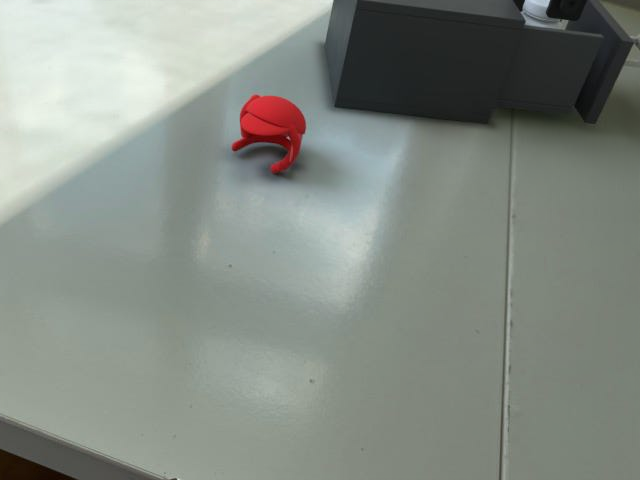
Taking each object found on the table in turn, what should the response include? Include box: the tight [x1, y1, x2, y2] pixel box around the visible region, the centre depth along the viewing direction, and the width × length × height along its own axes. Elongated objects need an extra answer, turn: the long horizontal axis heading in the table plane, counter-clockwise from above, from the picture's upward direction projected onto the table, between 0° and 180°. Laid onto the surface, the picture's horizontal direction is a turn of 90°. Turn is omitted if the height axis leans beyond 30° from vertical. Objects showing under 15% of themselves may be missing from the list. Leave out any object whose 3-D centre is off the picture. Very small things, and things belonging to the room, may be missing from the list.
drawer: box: [494, 0, 640, 125], centre depth 81 cm, size 21×13×9 cm, turn 90°
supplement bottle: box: [521, 0, 563, 30], centre depth 80 cm, size 5×5×8 cm
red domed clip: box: [231, 93, 307, 174], centre depth 67 cm, size 8×6×6 cm
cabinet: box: [324, 0, 526, 125], centre depth 80 cm, size 16×14×11 cm
